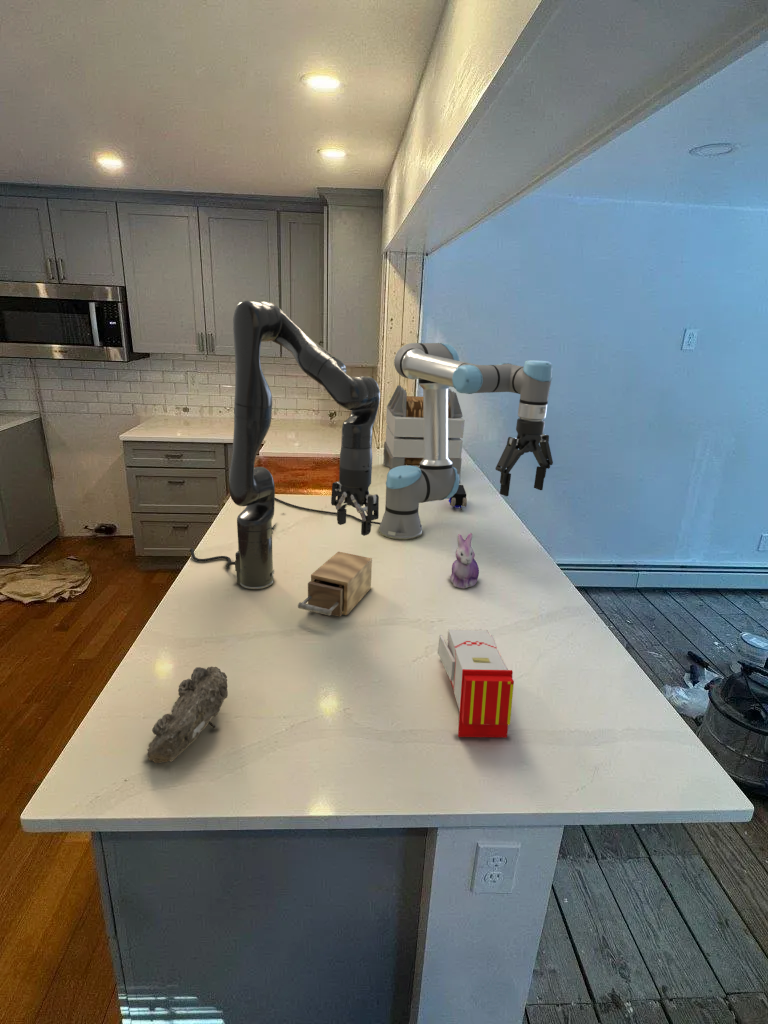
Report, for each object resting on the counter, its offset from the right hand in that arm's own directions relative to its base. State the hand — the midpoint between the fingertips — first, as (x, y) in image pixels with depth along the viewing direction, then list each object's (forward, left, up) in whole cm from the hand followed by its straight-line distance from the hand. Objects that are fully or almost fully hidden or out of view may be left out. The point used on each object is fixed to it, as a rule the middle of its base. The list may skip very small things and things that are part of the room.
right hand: (521, 492), depth 164 cm
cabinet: (-19, -50, -27) cm, 60 cm away
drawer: (-16, -56, -25) cm, 63 cm away
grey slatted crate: (-97, +55, -27) cm, 114 cm away
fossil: (+5, -102, -27) cm, 105 cm away
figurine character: (-53, +33, -27) cm, 68 cm away
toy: (+30, -53, -27) cm, 66 cm away
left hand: (-9, -54, -2) cm, 55 cm away
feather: (-74, -39, -27) cm, 88 cm away
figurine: (-5, -16, -27) cm, 31 cm away
